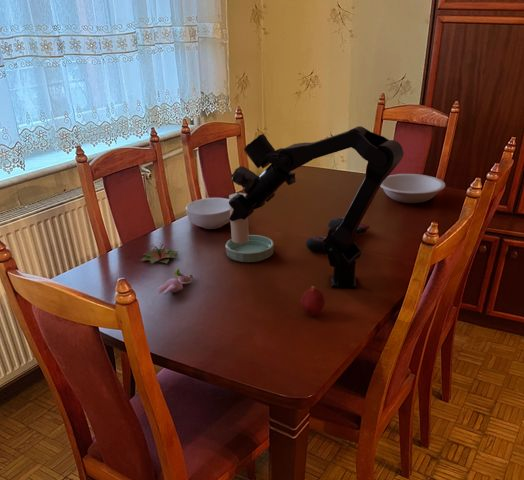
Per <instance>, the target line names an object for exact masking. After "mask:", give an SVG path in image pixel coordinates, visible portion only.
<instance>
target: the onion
mask: <svg viewBox="0 0 524 480" xmlns="http://www.w3.org/2000/svg"><path fill="white" fill-rule="evenodd" d="M325 305H326V299H325V295H324V294H323V292H321V290H319V289H318V288H316V287H315V286H313V285H312V286H310V287H309V288H308V289H307V290H306V291H305V292H304V293H303V294H302V296H301V298H300V306H301V308H302V310H303V311H304V312H305V313H307V314H308V315H310V316H311V317H312V316H316V315H318V314H319V313H320V312H322V311H323V309H324V307H325Z"/></svg>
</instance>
